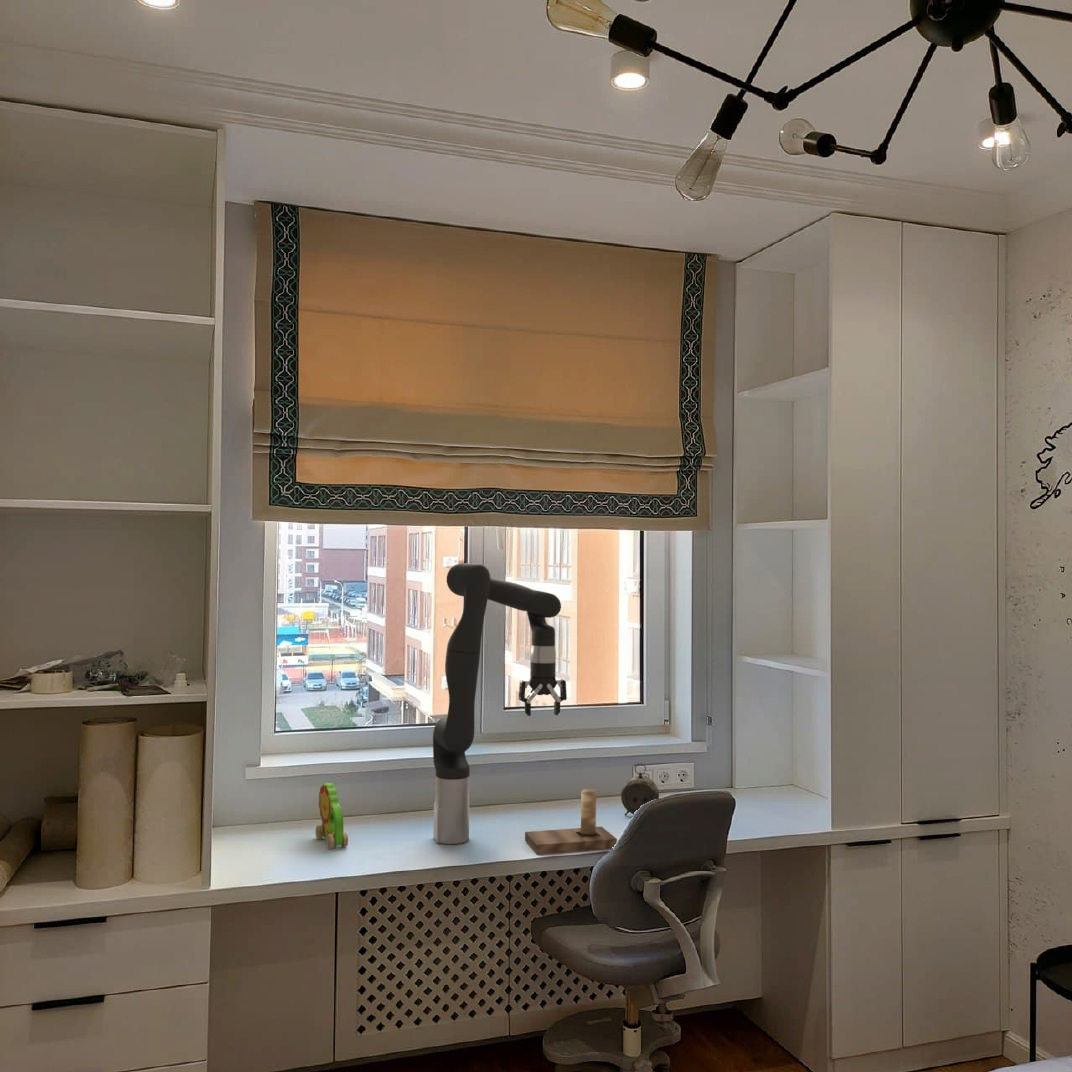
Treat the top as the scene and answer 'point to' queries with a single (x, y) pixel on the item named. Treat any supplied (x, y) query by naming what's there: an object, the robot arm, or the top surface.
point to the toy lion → (331, 818)
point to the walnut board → (568, 841)
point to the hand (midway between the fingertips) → (542, 715)
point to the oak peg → (588, 813)
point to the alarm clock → (638, 792)
